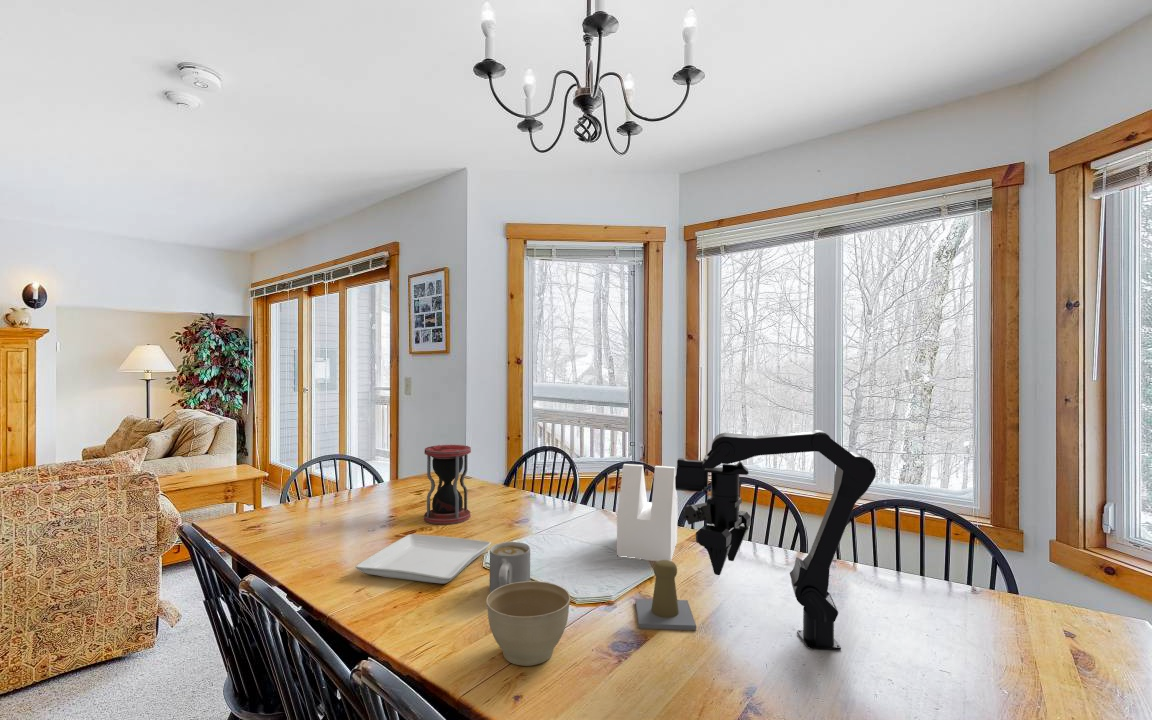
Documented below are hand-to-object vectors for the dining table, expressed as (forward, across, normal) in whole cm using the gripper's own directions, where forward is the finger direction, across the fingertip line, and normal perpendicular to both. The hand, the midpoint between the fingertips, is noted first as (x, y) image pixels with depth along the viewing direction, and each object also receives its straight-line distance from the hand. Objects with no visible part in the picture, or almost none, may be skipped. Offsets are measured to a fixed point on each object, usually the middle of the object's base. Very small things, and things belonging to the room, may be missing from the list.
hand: (724, 567), depth 114 cm
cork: (+12, +2, -13) cm, 18 cm away
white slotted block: (+13, -36, -34) cm, 51 cm away
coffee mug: (+13, +12, -50) cm, 53 cm away
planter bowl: (+13, +30, -29) cm, 44 cm away
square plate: (+14, +10, -80) cm, 81 cm away
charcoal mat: (+13, +2, -13) cm, 18 cm away
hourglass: (+13, -24, -107) cm, 110 cm away
